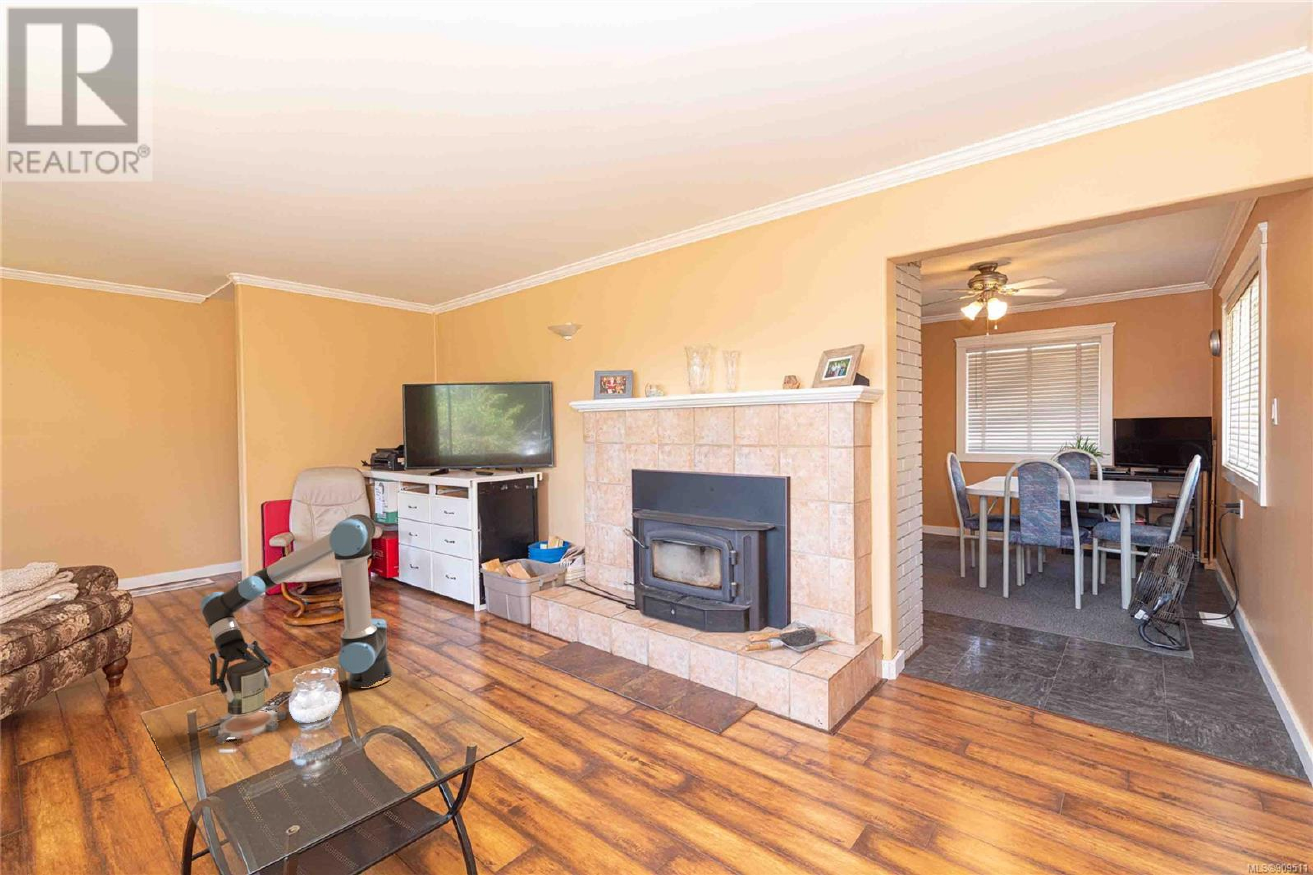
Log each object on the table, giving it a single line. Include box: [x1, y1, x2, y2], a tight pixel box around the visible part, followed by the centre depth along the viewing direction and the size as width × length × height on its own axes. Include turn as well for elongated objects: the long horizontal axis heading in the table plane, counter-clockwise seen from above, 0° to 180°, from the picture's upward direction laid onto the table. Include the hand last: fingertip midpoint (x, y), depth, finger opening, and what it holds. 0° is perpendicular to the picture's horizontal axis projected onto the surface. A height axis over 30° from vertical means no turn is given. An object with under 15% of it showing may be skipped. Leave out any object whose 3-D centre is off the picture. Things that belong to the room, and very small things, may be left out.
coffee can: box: [226, 660, 266, 717], centre depth 193 cm, size 10×10×14 cm
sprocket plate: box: [208, 704, 287, 744], centre depth 193 cm, size 20×20×2 cm
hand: (250, 693), depth 191 cm, fingers closed on coffee can, 10 cm apart
